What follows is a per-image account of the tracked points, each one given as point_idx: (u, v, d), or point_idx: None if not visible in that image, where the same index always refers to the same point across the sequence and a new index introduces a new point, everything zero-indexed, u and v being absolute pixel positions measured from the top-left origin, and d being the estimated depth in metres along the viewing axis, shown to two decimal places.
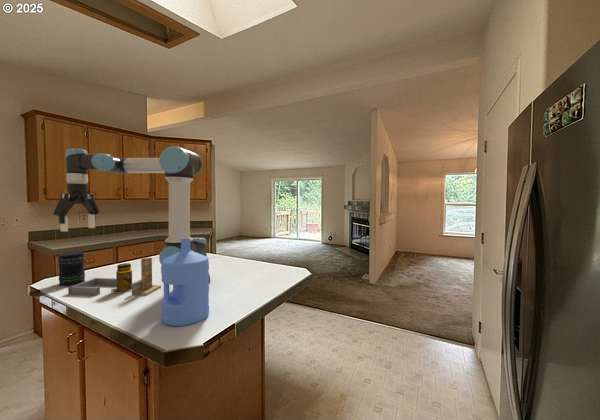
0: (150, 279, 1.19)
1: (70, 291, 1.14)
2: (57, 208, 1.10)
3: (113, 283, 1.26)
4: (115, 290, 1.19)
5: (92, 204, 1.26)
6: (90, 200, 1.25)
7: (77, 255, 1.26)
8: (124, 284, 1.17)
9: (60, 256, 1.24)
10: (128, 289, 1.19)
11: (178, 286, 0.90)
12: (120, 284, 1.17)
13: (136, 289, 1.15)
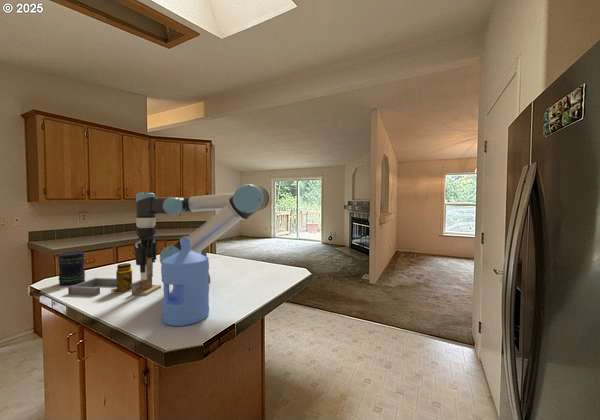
0: (150, 279, 1.19)
1: (70, 291, 1.14)
2: (137, 259, 1.13)
3: (113, 283, 1.26)
4: (115, 290, 1.19)
5: (153, 249, 1.22)
6: (153, 245, 1.22)
7: (76, 255, 1.26)
8: (124, 284, 1.17)
9: (60, 256, 1.24)
10: (128, 289, 1.19)
11: (178, 286, 0.90)
12: (120, 284, 1.17)
13: (136, 289, 1.15)
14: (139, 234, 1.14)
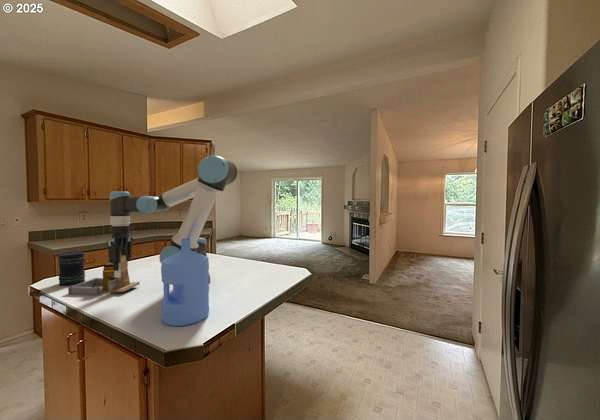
0: (126, 276, 1.19)
1: (70, 291, 1.14)
2: (110, 257, 1.13)
3: None
4: (103, 288, 1.21)
5: (128, 248, 1.23)
6: (128, 243, 1.23)
7: (77, 255, 1.26)
8: None
9: (60, 256, 1.24)
10: None
11: (178, 286, 0.90)
12: (105, 283, 1.18)
13: (113, 287, 1.15)
14: (112, 232, 1.15)
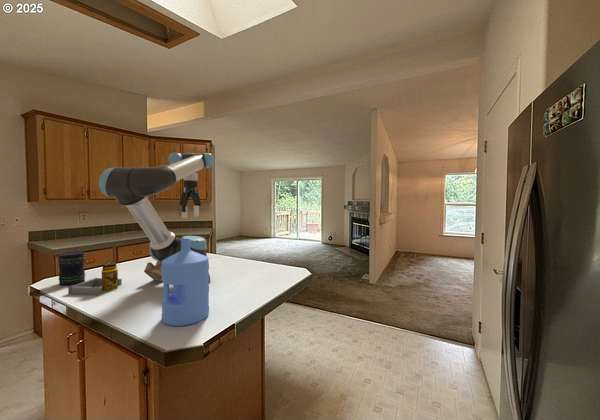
0: None
1: (70, 291, 1.14)
2: (181, 199, 1.40)
3: None
4: (102, 288, 1.21)
5: (197, 197, 1.56)
6: (196, 194, 1.55)
7: (77, 255, 1.26)
8: (107, 283, 1.18)
9: (60, 256, 1.24)
10: (111, 288, 1.19)
11: (178, 286, 0.90)
12: (104, 283, 1.18)
13: (149, 268, 1.29)
14: (186, 185, 1.45)
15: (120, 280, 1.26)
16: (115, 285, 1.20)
